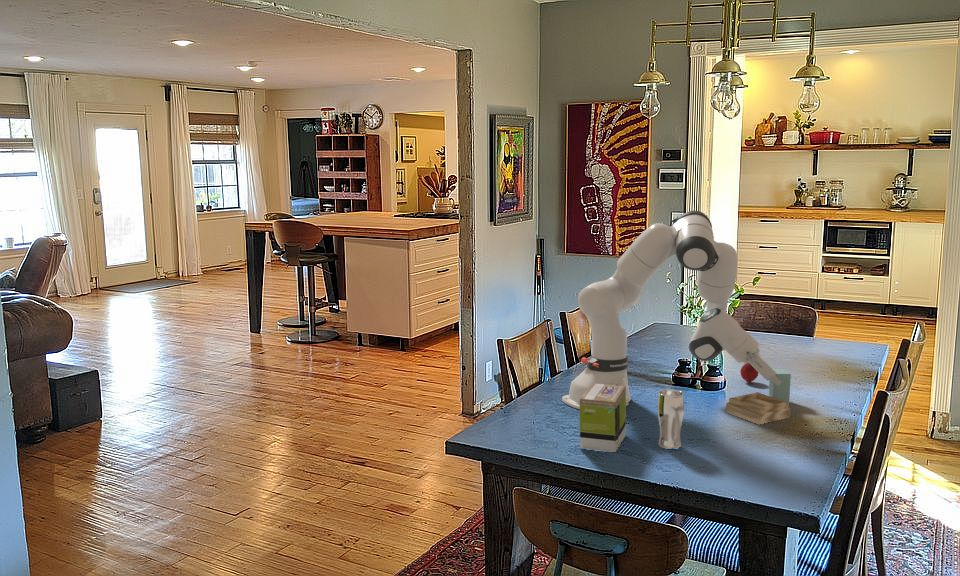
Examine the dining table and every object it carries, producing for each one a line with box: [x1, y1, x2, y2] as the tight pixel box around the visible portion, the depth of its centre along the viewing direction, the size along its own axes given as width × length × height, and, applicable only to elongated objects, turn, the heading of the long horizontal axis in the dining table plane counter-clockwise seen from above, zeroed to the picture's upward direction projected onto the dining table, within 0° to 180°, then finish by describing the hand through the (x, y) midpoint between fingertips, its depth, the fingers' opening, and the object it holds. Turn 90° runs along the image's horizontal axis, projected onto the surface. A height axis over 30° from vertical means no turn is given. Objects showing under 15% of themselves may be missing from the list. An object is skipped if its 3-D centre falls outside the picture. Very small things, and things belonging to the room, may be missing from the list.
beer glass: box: [657, 388, 685, 449], centre depth 212 cm, size 7×7×15 cm
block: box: [768, 368, 792, 404], centre depth 248 cm, size 5×5×10 cm
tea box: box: [579, 383, 627, 453], centre depth 216 cm, size 15×10×15 cm, turn 159°
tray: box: [725, 392, 792, 426], centre depth 237 cm, size 13×13×4 cm
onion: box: [740, 363, 759, 384], centre depth 270 cm, size 6×6×8 cm
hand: (775, 379), depth 248 cm, fingers open, 8 cm apart
